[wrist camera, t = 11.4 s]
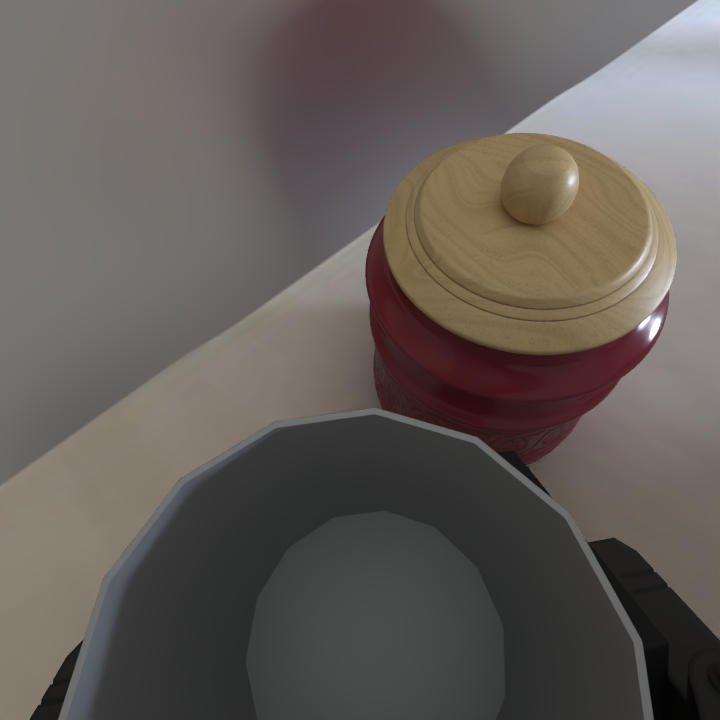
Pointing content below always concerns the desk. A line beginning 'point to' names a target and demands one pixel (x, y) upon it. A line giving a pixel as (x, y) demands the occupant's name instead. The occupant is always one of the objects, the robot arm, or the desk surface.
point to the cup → (358, 590)
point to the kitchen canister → (515, 288)
